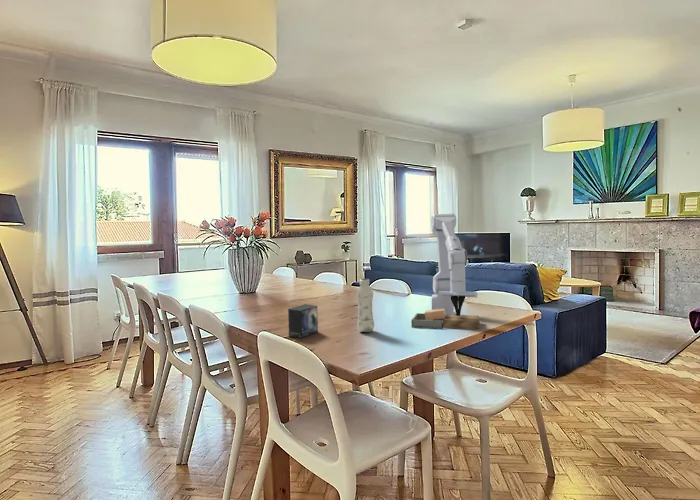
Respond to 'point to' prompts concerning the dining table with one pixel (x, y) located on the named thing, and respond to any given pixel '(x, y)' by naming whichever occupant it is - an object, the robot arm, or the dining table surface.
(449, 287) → the robot arm
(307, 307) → the small box
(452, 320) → the board
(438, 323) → the tray
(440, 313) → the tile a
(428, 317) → the tan square block
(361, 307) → the plastic bottle
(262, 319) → the dining table surface
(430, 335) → the dining table surface
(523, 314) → the dining table surface
